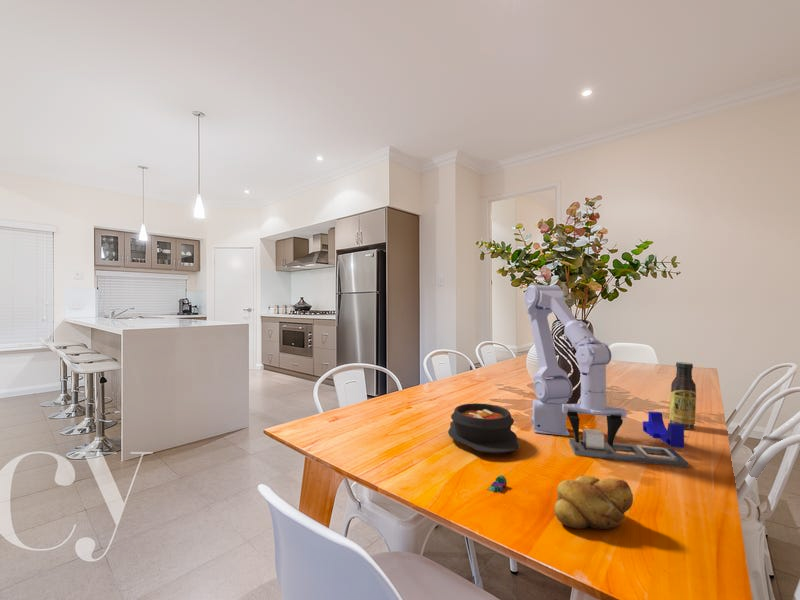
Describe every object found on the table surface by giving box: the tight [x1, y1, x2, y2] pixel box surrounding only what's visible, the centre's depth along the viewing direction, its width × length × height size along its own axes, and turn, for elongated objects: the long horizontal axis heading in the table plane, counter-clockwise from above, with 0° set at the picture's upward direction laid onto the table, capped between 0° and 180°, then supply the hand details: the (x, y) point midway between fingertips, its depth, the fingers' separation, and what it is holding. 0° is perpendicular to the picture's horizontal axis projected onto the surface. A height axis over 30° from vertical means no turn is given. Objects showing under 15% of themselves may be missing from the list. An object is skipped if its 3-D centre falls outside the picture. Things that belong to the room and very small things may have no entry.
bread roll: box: [553, 474, 634, 530], centre depth 63 cm, size 13×10×8 cm
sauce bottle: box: [668, 361, 697, 430], centre depth 110 cm, size 6×6×20 cm
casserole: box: [447, 403, 520, 454], centre depth 99 cm, size 25×19×8 cm
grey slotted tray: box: [568, 438, 689, 469], centre depth 90 cm, size 24×8×2 cm, turn 74°
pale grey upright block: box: [582, 428, 605, 451], centre depth 92 cm, size 4×4×5 cm
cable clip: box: [642, 410, 685, 449], centre depth 101 cm, size 12×4×6 cm, turn 170°
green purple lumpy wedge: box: [486, 474, 508, 493], centre depth 74 cm, size 4×3×2 cm
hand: (593, 442), depth 92 cm, fingers open, 7 cm apart
